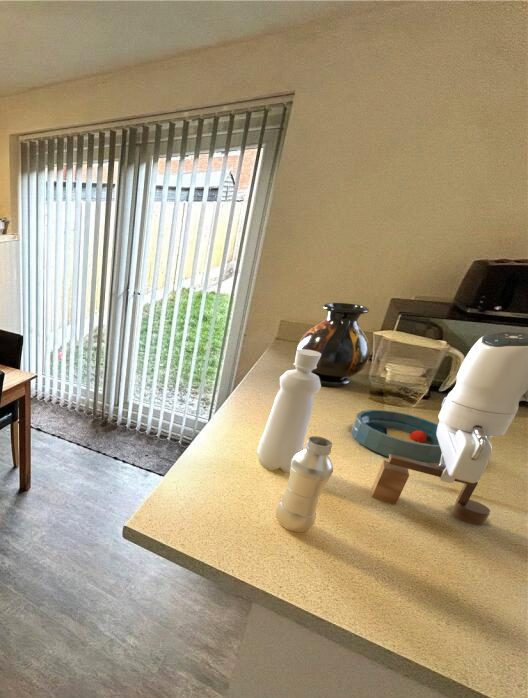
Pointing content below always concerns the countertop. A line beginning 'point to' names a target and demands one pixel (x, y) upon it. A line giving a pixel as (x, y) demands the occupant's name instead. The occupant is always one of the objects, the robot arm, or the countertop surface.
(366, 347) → the black vase
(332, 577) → the countertop surface
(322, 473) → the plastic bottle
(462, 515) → the bent rod on disc
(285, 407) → the bottle
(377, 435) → the blue ring
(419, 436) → the tomato
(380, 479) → the wooden toy brick
